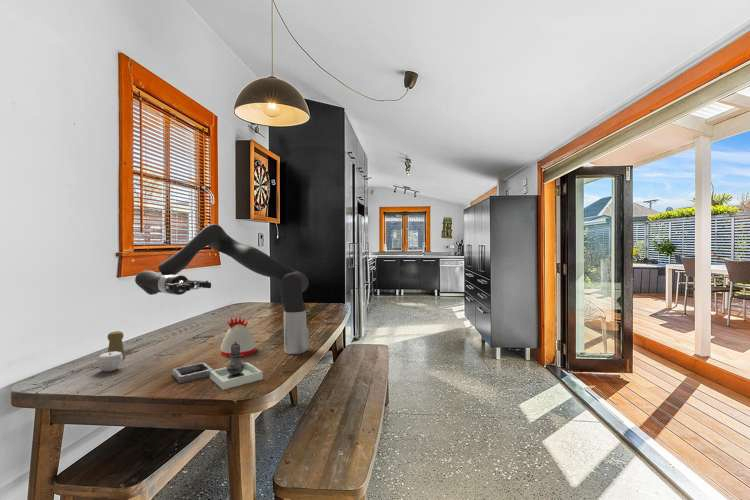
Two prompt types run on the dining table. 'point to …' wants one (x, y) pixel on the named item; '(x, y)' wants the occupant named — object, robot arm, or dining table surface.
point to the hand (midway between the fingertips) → (200, 286)
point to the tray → (249, 376)
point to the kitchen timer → (238, 338)
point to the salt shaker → (235, 362)
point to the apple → (109, 361)
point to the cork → (116, 342)
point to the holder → (177, 373)
